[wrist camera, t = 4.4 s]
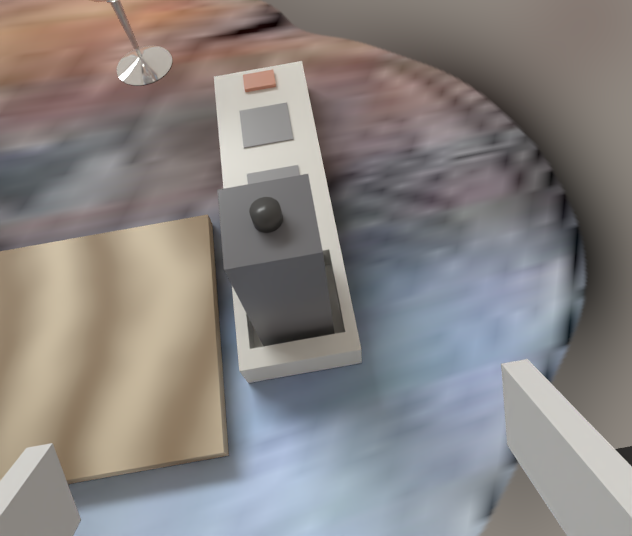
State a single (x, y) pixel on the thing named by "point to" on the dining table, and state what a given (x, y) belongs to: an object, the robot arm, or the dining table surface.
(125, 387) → the oak board
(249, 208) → the gray knobbed block
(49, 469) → the robot arm
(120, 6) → the wineglass
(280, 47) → the dining table surface
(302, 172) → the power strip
